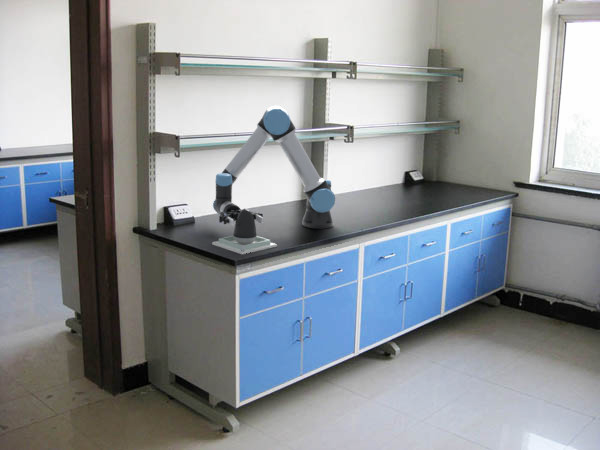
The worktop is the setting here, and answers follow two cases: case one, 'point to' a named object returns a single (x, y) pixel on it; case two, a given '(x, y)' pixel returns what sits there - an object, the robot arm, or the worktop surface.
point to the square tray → (233, 246)
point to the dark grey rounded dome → (245, 228)
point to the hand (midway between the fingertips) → (247, 222)
